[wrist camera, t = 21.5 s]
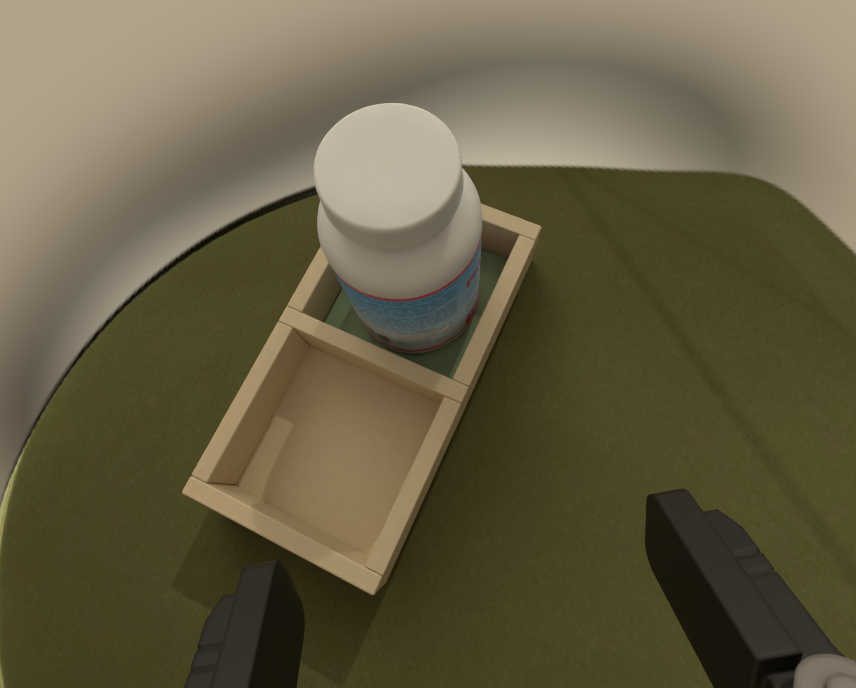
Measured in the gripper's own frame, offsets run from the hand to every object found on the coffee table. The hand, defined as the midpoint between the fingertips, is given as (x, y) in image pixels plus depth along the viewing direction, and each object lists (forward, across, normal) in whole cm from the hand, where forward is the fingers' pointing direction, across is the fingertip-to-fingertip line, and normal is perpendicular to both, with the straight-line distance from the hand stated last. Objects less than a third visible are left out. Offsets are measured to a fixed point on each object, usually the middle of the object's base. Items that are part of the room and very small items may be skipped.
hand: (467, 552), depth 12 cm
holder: (+15, +3, +4) cm, 16 cm away
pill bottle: (+17, 0, +1) cm, 17 cm away
